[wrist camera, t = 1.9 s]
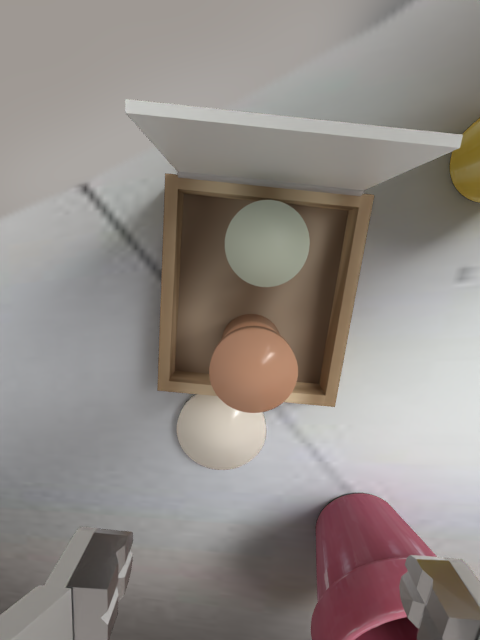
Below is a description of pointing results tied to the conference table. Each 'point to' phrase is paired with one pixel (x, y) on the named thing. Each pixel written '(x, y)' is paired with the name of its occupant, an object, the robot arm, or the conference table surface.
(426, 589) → the robot arm
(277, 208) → the sage pot
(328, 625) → the plant pot
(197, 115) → the propped lid
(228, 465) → the cream disc
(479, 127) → the plant pot
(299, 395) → the brown wooden tray
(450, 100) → the conference table surface
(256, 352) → the peach mushroom knob
